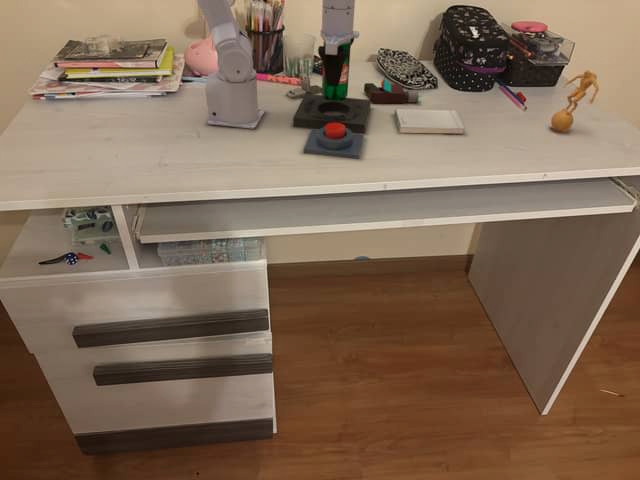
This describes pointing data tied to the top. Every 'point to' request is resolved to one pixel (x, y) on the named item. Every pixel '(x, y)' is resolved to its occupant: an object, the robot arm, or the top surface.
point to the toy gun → (390, 93)
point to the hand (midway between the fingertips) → (334, 80)
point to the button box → (334, 144)
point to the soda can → (342, 89)
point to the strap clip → (303, 88)
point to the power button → (335, 130)
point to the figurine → (574, 101)
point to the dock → (314, 119)
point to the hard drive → (428, 121)
